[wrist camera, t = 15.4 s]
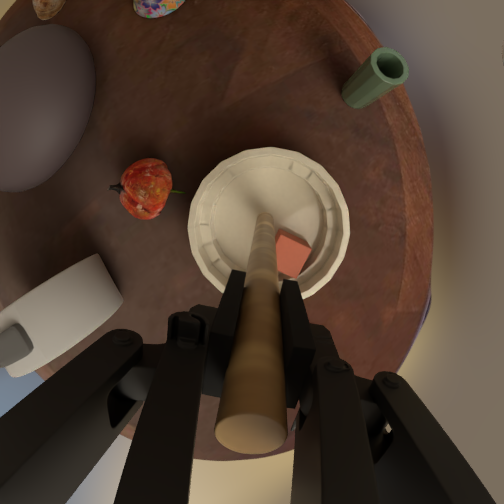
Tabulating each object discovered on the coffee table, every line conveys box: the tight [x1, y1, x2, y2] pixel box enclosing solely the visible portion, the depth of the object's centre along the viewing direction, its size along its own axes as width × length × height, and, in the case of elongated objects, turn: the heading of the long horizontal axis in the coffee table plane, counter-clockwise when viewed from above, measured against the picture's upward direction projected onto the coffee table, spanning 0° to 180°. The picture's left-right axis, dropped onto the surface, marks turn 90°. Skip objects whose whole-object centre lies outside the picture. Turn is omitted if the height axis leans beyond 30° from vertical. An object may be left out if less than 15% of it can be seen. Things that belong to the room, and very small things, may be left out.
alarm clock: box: [0, 253, 124, 378], centre depth 32 cm, size 21×8×20 cm, turn 116°
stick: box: [214, 212, 288, 454], centre depth 21 cm, size 2×2×30 cm
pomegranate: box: [107, 158, 186, 219], centre depth 34 cm, size 7×7×10 cm
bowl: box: [187, 147, 350, 299], centre depth 35 cm, size 18×18×6 cm
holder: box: [341, 47, 409, 109], centre depth 27 cm, size 4×4×12 cm
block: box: [275, 228, 312, 279], centre depth 36 cm, size 4×4×4 cm
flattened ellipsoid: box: [0, 24, 96, 192], centre depth 27 cm, size 25×25×15 cm
